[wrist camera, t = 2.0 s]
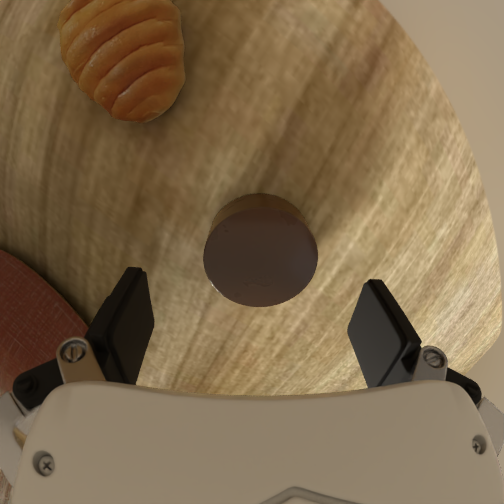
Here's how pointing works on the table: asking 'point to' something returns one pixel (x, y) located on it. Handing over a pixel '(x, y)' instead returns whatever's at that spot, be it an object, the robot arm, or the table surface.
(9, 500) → the planter
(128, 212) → the table surface
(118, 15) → the pastry
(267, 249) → the walnut chip
